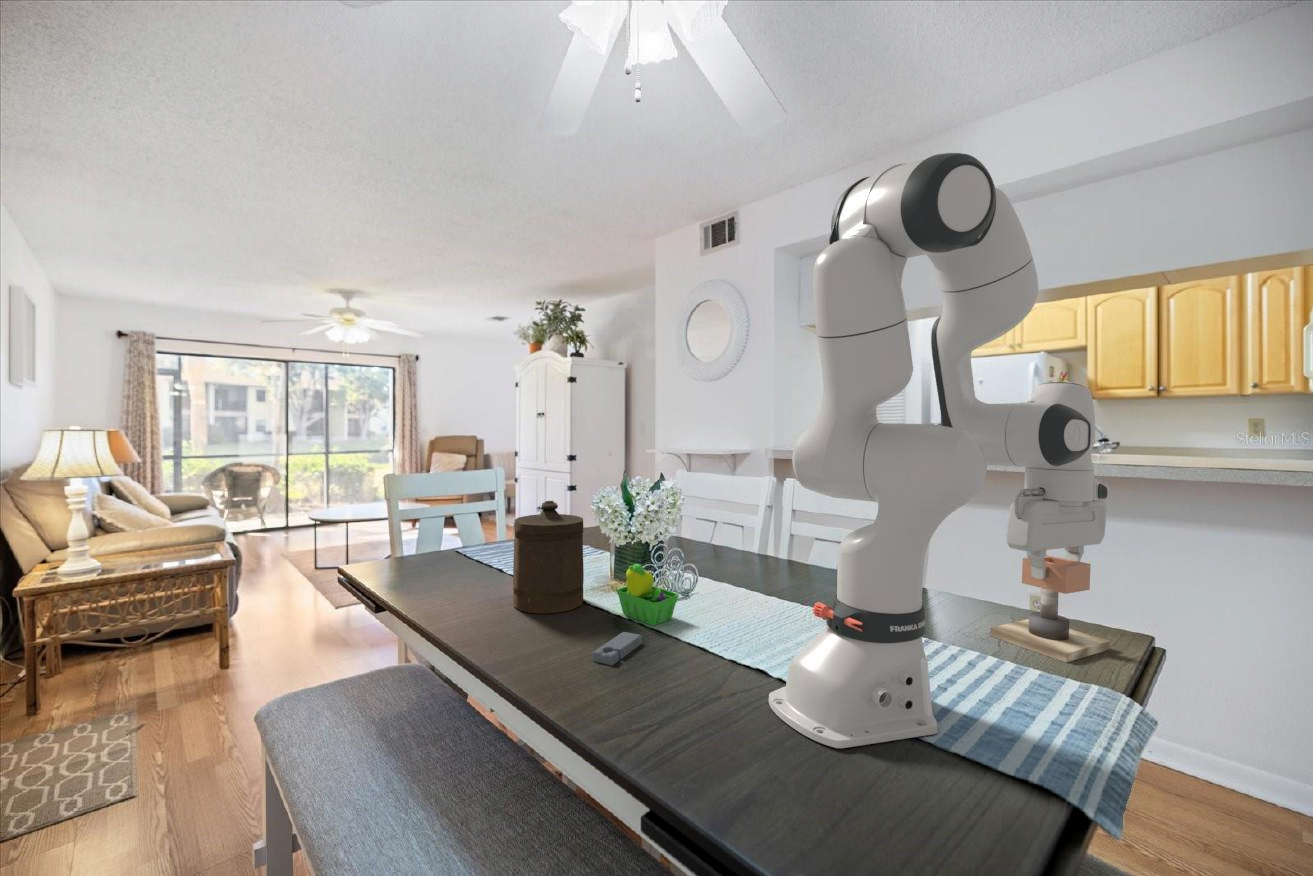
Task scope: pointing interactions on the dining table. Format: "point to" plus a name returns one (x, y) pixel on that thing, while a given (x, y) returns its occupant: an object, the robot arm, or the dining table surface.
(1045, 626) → the pin stand
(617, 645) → the bracket
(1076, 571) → the orange square ring
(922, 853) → the dining table surface
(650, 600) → the fruit basket
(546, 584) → the wooden container
